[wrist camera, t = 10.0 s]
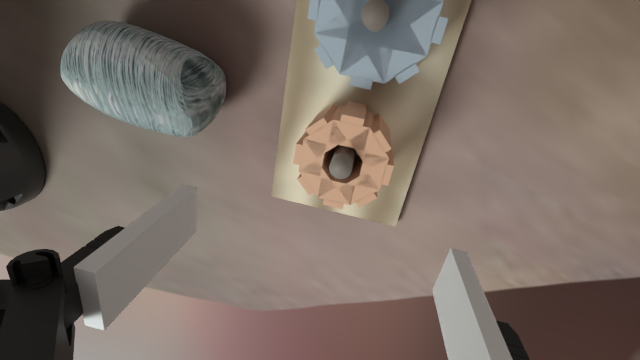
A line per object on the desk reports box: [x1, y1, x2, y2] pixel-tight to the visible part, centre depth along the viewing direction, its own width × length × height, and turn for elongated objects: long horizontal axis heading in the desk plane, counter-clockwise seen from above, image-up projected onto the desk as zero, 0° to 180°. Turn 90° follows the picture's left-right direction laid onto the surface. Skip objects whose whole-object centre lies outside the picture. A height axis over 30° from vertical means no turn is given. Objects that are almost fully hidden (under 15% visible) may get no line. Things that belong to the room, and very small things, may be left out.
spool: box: [60, 21, 226, 137], centre depth 29 cm, size 14×10×10 cm
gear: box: [307, 0, 448, 90], centre depth 25 cm, size 10×10×3 cm
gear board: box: [271, 0, 471, 226], centre depth 27 cm, size 14×24×8 cm, turn 170°
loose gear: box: [293, 101, 394, 209], centre depth 29 cm, size 8×8×6 cm
